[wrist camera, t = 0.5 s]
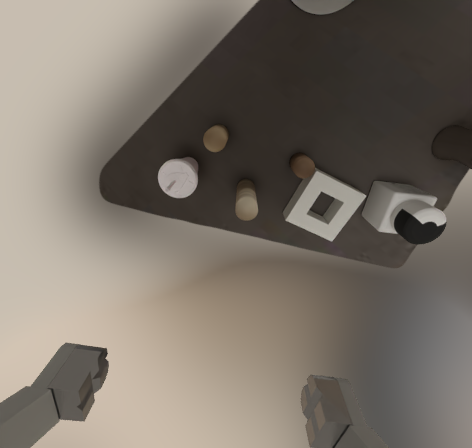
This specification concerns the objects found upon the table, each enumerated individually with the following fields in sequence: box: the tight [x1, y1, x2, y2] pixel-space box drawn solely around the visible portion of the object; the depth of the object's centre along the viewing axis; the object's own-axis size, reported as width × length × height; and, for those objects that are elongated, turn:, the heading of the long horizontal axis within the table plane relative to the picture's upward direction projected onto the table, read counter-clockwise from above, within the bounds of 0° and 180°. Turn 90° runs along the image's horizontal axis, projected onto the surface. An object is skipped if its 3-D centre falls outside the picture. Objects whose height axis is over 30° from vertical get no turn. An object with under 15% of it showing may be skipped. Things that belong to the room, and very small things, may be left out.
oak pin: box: [203, 124, 229, 152], centre depth 42 cm, size 4×4×8 cm
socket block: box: [283, 168, 366, 241], centre depth 49 cm, size 11×11×4 cm
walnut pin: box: [289, 153, 315, 178], centre depth 45 cm, size 4×4×5 cm
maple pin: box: [235, 179, 258, 221], centre depth 44 cm, size 4×4×12 cm
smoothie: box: [158, 157, 198, 198], centre depth 42 cm, size 6×6×14 cm
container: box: [361, 181, 446, 244], centre depth 44 cm, size 8×8×13 cm
